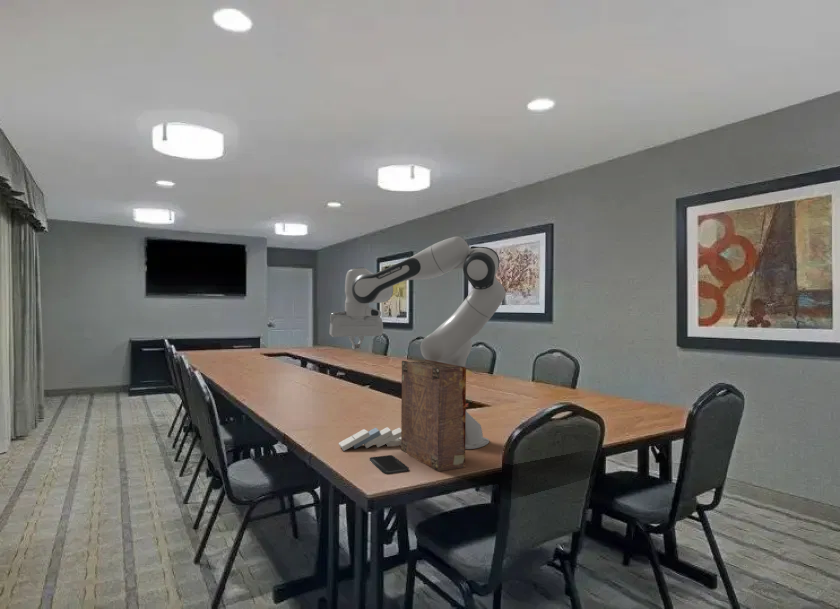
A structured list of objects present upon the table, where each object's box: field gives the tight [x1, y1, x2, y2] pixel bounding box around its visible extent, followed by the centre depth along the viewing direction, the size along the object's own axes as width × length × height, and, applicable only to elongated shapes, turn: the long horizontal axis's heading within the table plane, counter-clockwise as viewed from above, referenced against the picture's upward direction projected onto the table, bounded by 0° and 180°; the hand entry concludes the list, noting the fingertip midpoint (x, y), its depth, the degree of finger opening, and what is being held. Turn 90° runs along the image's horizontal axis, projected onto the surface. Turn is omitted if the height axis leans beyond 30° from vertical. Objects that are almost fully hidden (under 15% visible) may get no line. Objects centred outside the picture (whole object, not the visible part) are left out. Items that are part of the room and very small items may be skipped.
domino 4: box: [375, 427, 401, 448], centre depth 176 cm, size 2×5×10 cm
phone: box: [369, 454, 410, 475], centre depth 153 cm, size 8×1×15 cm
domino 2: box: [352, 427, 381, 450], centre depth 174 cm, size 2×5×10 cm
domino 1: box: [338, 428, 370, 452], centre depth 172 cm, size 2×5×10 cm
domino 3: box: [363, 426, 393, 449], centre depth 175 cm, size 2×5×10 cm
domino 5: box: [386, 437, 401, 447], centre depth 178 cm, size 2×5×10 cm
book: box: [400, 359, 467, 472], centre depth 161 cm, size 25×9×30 cm, turn 28°
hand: (356, 348), depth 189 cm, fingers closed
